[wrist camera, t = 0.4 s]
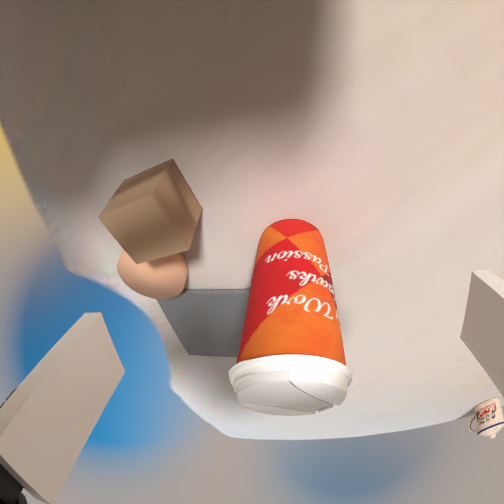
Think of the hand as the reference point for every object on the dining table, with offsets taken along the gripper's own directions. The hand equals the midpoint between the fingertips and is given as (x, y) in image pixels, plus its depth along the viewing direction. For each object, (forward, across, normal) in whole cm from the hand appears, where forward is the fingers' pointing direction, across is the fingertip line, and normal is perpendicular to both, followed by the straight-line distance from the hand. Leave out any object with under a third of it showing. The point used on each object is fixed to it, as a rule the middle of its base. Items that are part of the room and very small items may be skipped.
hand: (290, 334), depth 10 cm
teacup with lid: (+42, +55, -66) cm, 95 cm away
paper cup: (+18, +1, -3) cm, 18 cm away
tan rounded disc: (+20, -13, -4) cm, 24 cm away
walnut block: (+16, -9, +3) cm, 19 cm away
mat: (+24, -8, -14) cm, 29 cm away
